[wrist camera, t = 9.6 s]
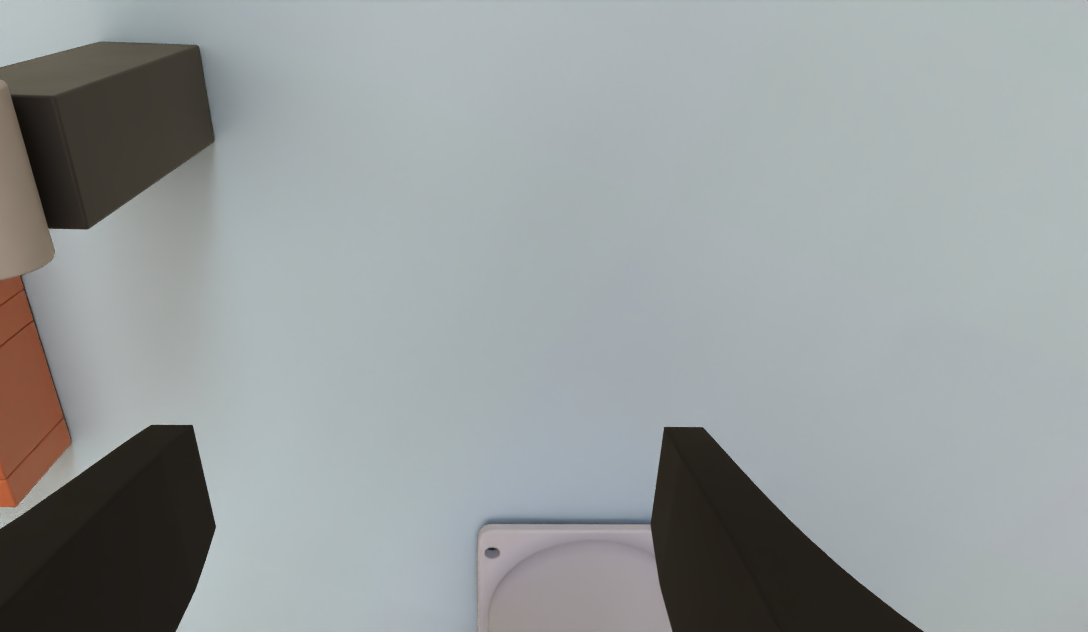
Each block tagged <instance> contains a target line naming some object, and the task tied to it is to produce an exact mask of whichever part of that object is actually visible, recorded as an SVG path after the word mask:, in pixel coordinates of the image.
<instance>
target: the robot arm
mask: <svg viewBox="0 0 1088 632" xmlns="http://www.w3.org/2000/svg"><path fill="white" fill-rule="evenodd" d="M215 529H216V525H215V521H214V517H213V512H212V508H211V503H210V499H209V495H208V490H207V486H206V481H205V477H204V473H203V468H202V464H201V459H200V455H199V451H198V446H197V442H196V437H195V433H194V429H193V425H151V426H149V427H147V428H146V429H144V430H143V431H141V432H139V433H138V434H136V435H135V436H133V437H132V438H130V439H129V440H128V441H126V442H125V443H123V444H122V445H120V446H119V447H118V448H116V449H115V450H113V451H112V452H110V453H109V454H108V455H106V456H105V457H103V458H102V459H101V460H99V461H98V462H96V463H95V464H94V465H92V466H91V467H89V468H88V469H87V470H85V471H84V472H82V473H81V474H80V475H78V476H77V477H75V478H74V479H73V480H71V481H70V482H68V483H67V484H66V485H64V486H63V487H61V488H60V489H58V490H57V491H56V492H54V493H53V494H51V495H50V496H48V497H47V498H46V499H44V500H43V501H41V502H40V503H38V504H37V505H36V506H34V507H33V508H31V509H30V510H29V511H27V512H26V513H24V514H23V515H21V516H20V517H18V518H17V519H15V520H13V521H12V522H10V523H9V524H7V525H6V526H4V527H3V528H1V529H0V632H176V630H177V628H178V626H179V623H180V621H181V619H182V617H183V615H184V613H185V611H186V609H187V607H188V605H189V602H190V600H191V598H192V596H193V594H194V592H195V589H196V587H197V584H198V581H199V578H200V575H201V572H202V569H203V566H204V563H205V561H206V557H207V554H208V551H209V548H210V545H211V541H212V538H213V535H214V532H215ZM491 547H493V548H497V549H496V550H488V548H491ZM478 632H923V631H922V630H921V629H919V628H918V627H916V626H915V625H914V624H912V623H911V622H910V621H908V620H907V619H905V618H904V617H903V616H901V615H900V614H899V613H897V612H896V611H895V610H894V609H892V608H891V607H890V606H888V605H887V604H886V603H885V602H883V601H882V600H881V599H880V598H878V597H877V596H876V595H874V594H873V593H872V592H871V591H869V590H868V589H867V588H866V587H864V586H863V585H862V584H860V583H859V582H858V581H857V580H856V579H854V578H853V577H852V576H851V575H850V574H848V573H847V572H846V571H845V570H844V569H842V568H841V567H840V566H839V565H838V564H837V563H836V562H834V561H833V560H832V559H831V558H830V557H829V556H828V555H827V554H826V553H825V552H823V551H822V550H821V549H820V548H819V547H818V546H817V545H816V544H815V543H813V542H812V541H811V540H810V539H809V538H808V537H807V536H806V535H805V534H804V533H803V532H802V531H801V530H800V529H798V528H797V527H796V526H795V525H794V524H793V523H792V522H791V521H790V520H789V519H788V518H787V517H786V516H785V515H784V514H783V513H782V512H781V511H780V510H779V509H778V508H777V507H776V506H775V505H774V504H773V503H772V502H771V501H770V500H769V499H768V498H767V496H766V495H765V494H764V493H763V492H762V491H761V490H760V489H759V488H758V487H757V486H756V485H755V484H754V483H753V482H752V481H751V479H750V478H749V477H748V476H747V475H746V474H745V473H744V472H743V471H742V470H741V469H740V468H739V466H738V465H737V464H736V463H735V462H734V461H733V460H732V459H731V458H730V456H729V455H728V454H727V453H726V452H725V451H724V450H723V449H722V448H721V447H720V445H719V444H718V443H717V442H716V441H715V440H714V439H713V438H712V437H711V436H710V435H709V433H708V432H707V431H706V430H705V429H704V428H703V427H664V433H663V440H662V447H661V454H660V461H659V468H658V476H657V483H656V490H655V497H654V504H653V511H652V519H651V524H489V525H485V526H483V527H482V528H481V529H480V530H479V533H478Z"/></svg>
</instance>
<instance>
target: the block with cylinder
mask: <svg viewBox="0 0 1088 632" xmlns="http://www.w3.org/2000/svg"><path fill="white" fill-rule="evenodd" d="M213 142H214V136H213V130H212V124H211V118H210V112H209V106H208V100H207V94H206V88H205V82H204V75H203V69H202V63H201V57H200V51H199V47H198V46H197V45H180V44H153V43H125V42H97V43H93V44H89V45H85V46H81V47H77V48H74V49H70V50H66V51H62V52H58V53H54V54H51V55H47V56H43V57H39V58H35V59H31V60H27V61H24V62H20V63H16V64H12V65H8V66H4V67H0V280H5V279H10V278H13V277H17V276H20V275H24V274H27V273H29V272H32V271H34V270H37V269H39V268H41V267H43V266H44V265H46V264H48V263H49V262H50V261H51V260H52V259H53V257H54V253H55V250H54V247H53V243H52V240H51V236H50V232H49V229H89V228H91V227H92V226H94V225H95V224H97V223H98V222H99V221H101V220H102V219H104V218H105V217H107V216H108V215H109V214H111V213H112V212H114V211H115V210H117V209H118V208H120V207H121V206H122V205H124V204H125V203H127V202H128V201H130V200H131V199H132V198H134V197H135V196H137V195H138V194H140V193H141V192H143V191H144V190H145V189H147V188H148V187H150V186H151V185H153V184H154V183H155V182H157V181H158V180H160V179H161V178H163V177H164V176H165V175H167V174H168V173H170V172H171V171H173V170H174V169H176V168H177V167H178V166H180V165H181V164H183V163H184V162H186V161H187V160H188V159H190V158H191V157H193V156H194V155H196V154H197V153H199V152H200V151H201V150H203V149H204V148H206V147H207V146H209V145H210V144H211V143H213Z"/></svg>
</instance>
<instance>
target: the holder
mask: <svg viewBox="0 0 1088 632" xmlns="http://www.w3.org/2000/svg"><path fill="white" fill-rule="evenodd" d="M32 320H33V316H32V313H31V310H30V307H29V303H28V300H27V297H26V294H25V291H24V290H23V284H22V280H21V277H20V276H17V277H13V278H10V279H5V280H0V507H16V506H18V504H19V503H20V502H21V501H22V500H23V499H24V497H25V496H26V495H27V494H28V493H29V492H30V491H31V489H32V488H33V487H34V486H35V485H36V484H37V482H38V481H39V480H40V479H41V478H42V477H43V476H44V474H45V473H46V472H47V471H48V470H49V469H50V467H51V466H52V465H53V464H54V463H55V462H56V461H57V459H58V458H59V457H60V456H61V455H62V454H63V452H64V451H65V450H66V449H67V448H68V447H69V446H70V444H71V439H70V435H69V432H68V429H67V426H66V423H65V419H64V418H63V413H62V410H61V406H60V403H59V400H58V397H57V394H56V390H55V387H54V384H53V381H52V377H51V374H50V371H49V368H48V365H47V361H46V358H45V355H44V352H43V348H42V345H41V342H40V339H39V336H38V332H37V329H36V326H35V323H34V321H32Z"/></svg>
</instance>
